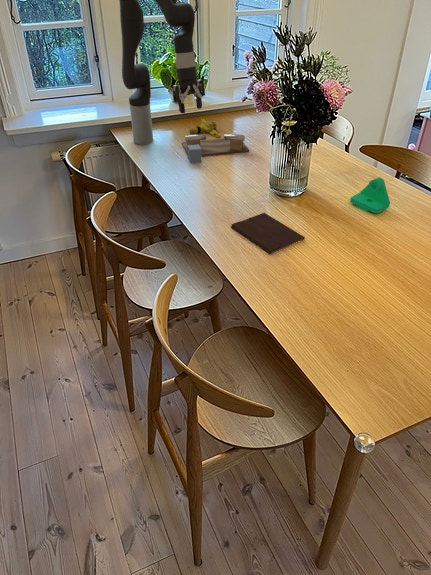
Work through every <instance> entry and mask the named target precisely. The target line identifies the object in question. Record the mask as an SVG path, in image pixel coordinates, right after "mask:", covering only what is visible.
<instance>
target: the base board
mask: <svg viewBox="0 0 431 575" xmlns="http://www.w3.org/2000/svg"><path fill="white" fill-rule="evenodd" d="M191 135H192V134H187V135H186V136H191ZM193 135H199V133H196V134H193ZM231 135H240V134H237V133H232V134H231ZM198 144H199V146H200V148H201V157H210V156H209V155H211V156H220V155H230V154H240V153H249V152H250V149H249V147H248V146H247V145H246V144H245V143H244V141H242V138H235V137H231V138H230V140H224V138H215V139H206V140H200V138H199V137H198V138H188V141H187V142H186V141H181V145H182V147H183V150H184V152H185V154H186V156H187V157H188V149H187V145H198Z"/></svg>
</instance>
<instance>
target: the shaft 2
mask: <svg viewBox="0 0 431 575" xmlns="http://www.w3.org/2000/svg"><path fill="white" fill-rule="evenodd" d="M223 136H224V137H223V139H224V140H230V138H231V137H235V138H242V141H243V142H245V139H246V135H244V134H239V135H232V134H229V133H228V134H227V133H225V134H224V135H223Z"/></svg>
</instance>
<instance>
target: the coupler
mask: <svg viewBox="0 0 431 575" xmlns="http://www.w3.org/2000/svg"><path fill="white" fill-rule="evenodd" d="M187 149H188V156H187V160H188V162H189V164H195V163H194V162H198V163H202V156H201V148H200V146H199V144H198V145H187Z"/></svg>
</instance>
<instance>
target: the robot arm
mask: <svg viewBox="0 0 431 575" xmlns="http://www.w3.org/2000/svg"><path fill="white" fill-rule="evenodd" d="M154 1H155V2H156V4H157V5H158V6H159V7H160V9H161V10H160V11H161V12H162V14H163V17H164V20H165V22H166V23H167V24H168V25H169V26H170V27H172V28H179V27H180V28H181V29H180V32H179V33H177V34H176V35H174V36H173V48H174V59H175V60H174V61H175V69H176V75H177V80H178V84H173V85H172V88H171V89H172V96H173V97H172V98H173V102H174V103H177V104H178V111H179V113H180V114H186V109H185V99H186V98H187V96H190V95H194V97H195V102H196V109H202V107H203V102H202V98H203V97H205V96H206V90H205V84H204V79H197V78H198V74H197V73H198V72H197V62H196V55H195V52H194V50H195V49H194V40H193V38H194V37H193V36H194V30H195V21H196V14H195V11H194V8H193V6H192V4H191V3H188V2H181V3H179V2H178V3H177V0H154ZM119 18H120V19H119V20H120V32H121V34H120V35H121V48H122V54H121V55H122V57H121V58H122V60H121V64H122V65H121V75H122V81H123V85H124V87H125V88H126V89H127V90H135V89H136V90H135V92H133V93H132V94H131V95H130V96H129V98H128V103H129V111H130V121H131V128H132V137H133V143H134V144H136V145H142V146H143V145H149V144H152V143H153V142H154V138H153V137H154V134H153V123H152V122H153V120H152V112H151V111H152V110H151V94H152V93H151V90H152V89H151V77H150V76H151V75H150V71H149V68H148V67H147V66H146V64H144V63H137V64H136V63H135V61H136V60H135V58H136V54H137V53H136V52H137V50H138V48H139V45H140V43H141V42H142V39H143V36H144V32H145V24H144V23H145V21H144V19H145V18H144V11H143V8H142V6H141V4H140V2H139V1H138V0H119Z"/></svg>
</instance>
